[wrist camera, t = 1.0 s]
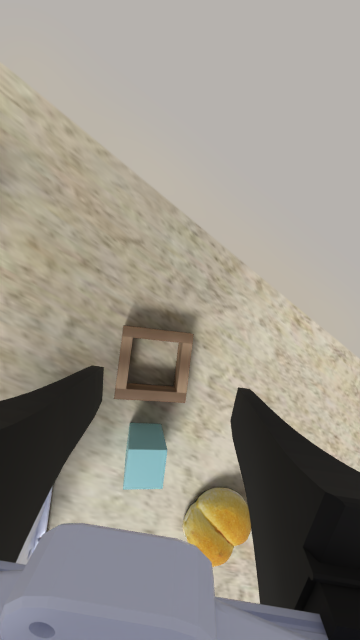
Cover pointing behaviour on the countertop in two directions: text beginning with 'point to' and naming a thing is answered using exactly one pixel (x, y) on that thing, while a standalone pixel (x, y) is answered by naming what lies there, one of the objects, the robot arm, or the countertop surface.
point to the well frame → (154, 391)
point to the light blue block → (145, 457)
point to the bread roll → (217, 523)
